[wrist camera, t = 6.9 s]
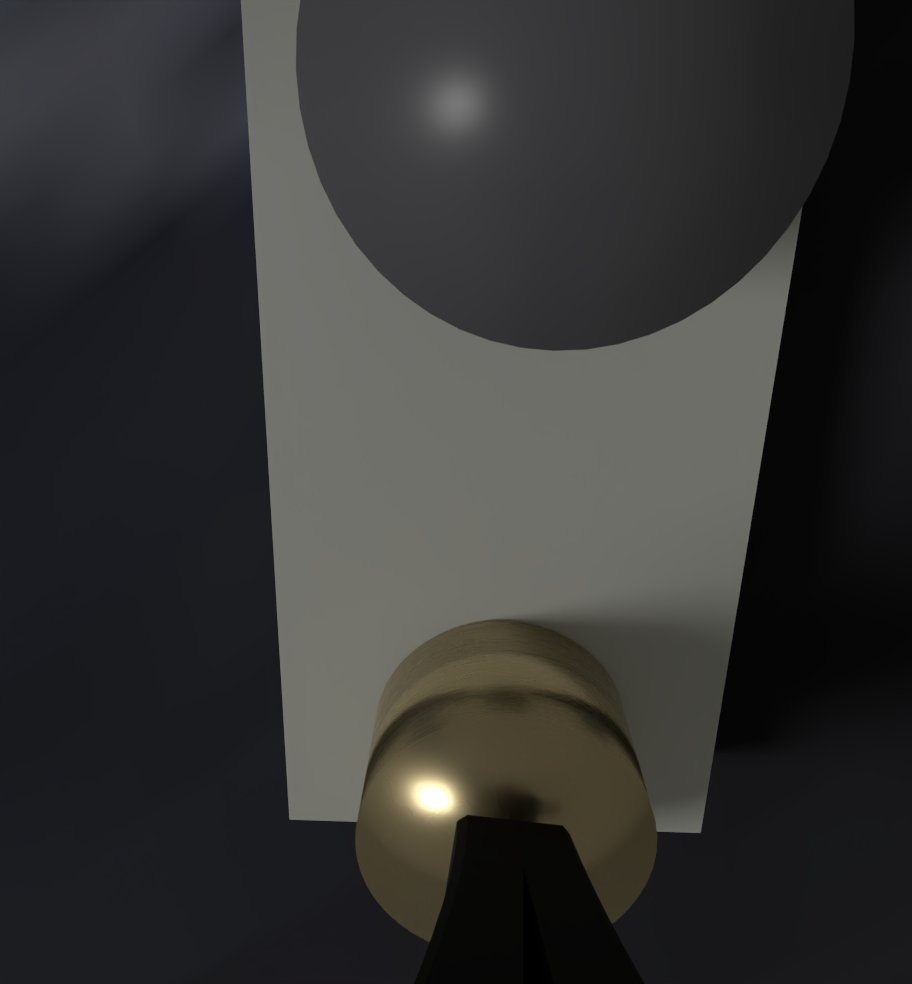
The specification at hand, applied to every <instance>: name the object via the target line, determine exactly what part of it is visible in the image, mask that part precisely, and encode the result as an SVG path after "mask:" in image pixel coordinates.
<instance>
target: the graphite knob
mask: <svg viewBox="0 0 912 984" xmlns="http://www.w3.org/2000/svg"><path fill="white" fill-rule="evenodd" d="M853 48H854V0H300V7H299V14H298V21H297V34H296V75H297V85H298V96H299V106H300V112H301V116H302V121H303V125H304V130H305V135H306V139H307V144H308V148H309V150H310V153H311V156H312V159H313V162H314V165H315V168H316V171H317V174H318V176H319V179H320V182H321V184H322V186H323V188H324V190H325V192H326V194H327V196H328V199H329V201H330V203H331V205H332V207H333V209H334V211H335V213H336V215H337V216H338V218H339V220H340V221H341V223H342V224H343V226H344V227H345V229H346V230H347V232H348V233H349V235H350V237H351V238H352V240H353V241H354V243H355V244H356V246H357V247H358V248H359V249H360V250H361V252H362V253H363V254H364V255H365V256H366V257H367V259H368V260H369V261H370V262H371V263H372V265H373V266H374V267H375V268H376V269H377V271H378V272H379V273H380V274H381V275H383V276H384V277H385V278H386V279H387V280H388V281H389V282H390V283H391V284H392V285H393V286H394V287H396V288H397V289H398V290H399V291H400V292H401V293H402V294H403V295H405V296H406V297H407V298H409V299H410V300H412V301H413V302H414V303H416V304H417V305H419V306H420V307H421V308H423V309H424V310H426V311H427V312H428V313H430V314H432V315H433V316H435V317H437V318H439V319H441V320H443V321H445V322H447V323H449V324H450V325H452V326H454V327H456V328H458V329H460V330H463V331H465V332H468V333H471V334H473V335H476V336H479V337H482V338H484V339H487V340H490V341H494V342H498V343H502V344H507V345H511V346H516V347H520V348H528V349H539V350H550V351H563V350H587V349H593V348H599V347H605V346H611V345H617V344H621V343H624V342H628V341H631V340H634V339H638V338H641V337H644V336H647V335H651V334H653V333H655V332H657V331H660V330H662V329H664V328H667V327H669V326H671V325H673V324H676V323H678V322H680V321H682V320H684V319H686V318H687V317H689V316H691V315H692V314H694V313H696V312H697V311H699V310H701V309H702V308H704V307H706V306H707V305H709V304H711V303H712V302H713V301H715V300H716V299H717V298H719V297H720V296H721V295H722V294H724V293H725V292H726V291H728V290H729V289H730V288H732V287H733V286H734V285H735V284H737V283H738V282H739V281H740V280H741V279H742V278H743V277H744V276H746V275H747V274H748V273H749V272H750V271H751V270H752V269H753V268H754V267H755V266H756V265H757V264H758V263H759V262H760V261H761V260H762V259H763V258H764V257H765V256H766V255H767V254H768V252H769V251H770V250H771V249H772V247H773V246H774V245H775V244H776V242H777V241H778V240H779V239H780V238H781V236H782V235H783V234H784V233H785V231H786V230H787V229H788V228H789V226H790V225H791V223H792V222H793V220H794V219H795V217H796V215H797V214H798V212H799V211H800V209H801V208H802V206H803V204H804V203H805V201H806V200H807V198H808V197H809V195H810V193H811V191H812V189H813V187H814V185H815V183H816V181H817V179H818V177H819V175H820V173H821V171H822V169H823V167H824V165H825V162H826V160H827V158H828V155H829V152H830V150H831V147H832V144H833V141H834V138H835V136H836V133H837V130H838V127H839V124H840V121H841V117H842V113H843V109H844V104H845V100H846V96H847V91H848V87H849V83H850V75H851V66H852V57H853Z"/></svg>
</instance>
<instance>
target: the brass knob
mask: <svg viewBox="0 0 912 984" xmlns="http://www.w3.org/2000/svg"><path fill="white" fill-rule="evenodd" d="M466 815H474V816H483V817H492V818H501V819H510V820H519V821H528V822H537V823H546V824H555V825H563V826H564V827H565V829H566V830H567V831H568V832H569V834H570V835H571V838H572V840H573V843H574V845H575V847H576V850H577V852H578V854H579V857H580V859H581V861H582V863H583V866H584V868H585V870H586V872H587V874H588V876H589V879H590V881H591V883H592V885H593V887H594V889H595V891H596V893H597V895H598V897H599V899H600V901H601V903H602V905H603V907H604V909H605V911H606V913H607V915H608V917H609V919H610V921H611V923H614V922H615V921H616V920H617V919H619V918H620V917H621V916H622V915H623V914H624V913H625V912H626V911H627V910H628V909H629V908H630V907H631V905H632V904H633V903H634V902H635V900H636V899H637V898H638V897H639V895H640V893H641V892H642V890H643V888H644V887H645V885H646V883H647V881H648V879H649V876H650V874H651V871H652V869H653V865H654V861H655V856H656V851H657V830H656V821H655V817H654V814H653V810H652V807H651V804H650V800H649V797H648V793H647V790H646V786H645V783H644V779H643V776H642V772H641V769H640V765H639V762H638V758H637V755H636V751H635V748H634V744H633V741H632V737H631V734H630V730H629V727H628V723H627V720H626V716H625V713H624V709H623V706H622V702H621V699H620V695H619V692H618V690H617V688H616V686H615V684H614V682H613V680H612V678H611V677H610V675H609V674H608V672H607V671H606V669H605V668H604V667H603V666H602V664H601V663H600V662H599V661H598V660H597V659H596V658H595V657H594V656H593V655H592V654H591V653H590V652H588V651H587V650H586V649H585V648H584V647H582V646H581V645H579V644H578V643H576V642H575V641H573V640H572V639H570V638H568V637H566V636H564V635H562V634H560V633H558V632H555V631H553V630H550V629H547V628H544V627H541V626H537V625H532V624H527V623H523V622H512V621H487V622H481V623H474V624H469V625H465V626H461V627H457V628H454V629H452V630H449V631H447V632H444V633H442V634H439V635H437V636H435V637H434V638H432V639H430V640H428V641H426V642H425V643H423V644H422V645H421V646H419V647H418V648H416V649H415V650H414V651H412V652H411V653H410V654H409V655H408V656H407V657H406V658H405V659H404V660H403V661H402V662H401V663H400V664H399V666H398V667H397V668H396V669H395V671H394V672H393V673H392V675H391V676H390V678H389V680H388V682H387V683H386V685H385V687H384V690H383V692H382V695H381V697H380V700H379V705H378V709H377V714H376V719H375V725H374V730H373V736H372V741H371V747H370V753H369V758H368V764H367V769H366V775H365V780H364V786H363V792H362V797H361V803H360V808H359V814H358V819H357V825H356V838H355V845H356V854H357V860H358V864H359V867H360V871H361V874H362V876H363V878H364V880H365V883H366V885H367V887H368V888H369V890H370V892H371V893H372V895H373V896H374V898H375V899H376V901H377V902H378V903H379V904H380V905H381V906H382V908H383V909H384V910H385V911H386V912H387V913H388V914H389V915H390V916H391V917H392V918H393V919H395V920H396V921H397V922H398V923H399V924H400V925H402V926H403V927H405V928H406V929H408V930H409V931H411V932H412V933H413V934H415V935H417V936H419V937H421V938H423V939H425V940H427V941H428V942H430V940H431V937H432V934H433V931H434V928H435V925H436V922H437V919H438V916H439V913H440V910H441V907H442V904H443V901H444V897H445V892H446V886H447V879H448V873H449V867H450V861H451V854H452V848H453V842H454V836H455V830H456V823H457V821H458V820H459V819H461V818H463V817H464V816H466Z"/></svg>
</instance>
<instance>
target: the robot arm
mask: <svg viewBox="0 0 912 984" xmlns="http://www.w3.org/2000/svg"><path fill="white" fill-rule="evenodd" d="M414 984H644V982H643V981H642V979H641V977H640V975H639V973H638V972H637V970H636V968H635V966H634V964H633V963H632V961H631V959H630V957H629V955H628V954H627V952H626V950H625V948H624V946H623V944H622V943H621V941H620V939H619V937H618V935H617V933H616V931H615V929H614V927H613V925H612V923H611V921H610V919H609V917H608V915H607V913H606V911H605V909H604V907H603V905H602V903H601V901H600V899H599V897H598V895H597V893H596V891H595V889H594V887H593V885H592V883H591V881H590V879H589V876H588V874H587V872H586V870H585V868H584V866H583V863H582V861H581V859H580V857H579V854H578V852H577V850H576V847H575V845H574V843H573V840H572V838H571V835H570V834H569V832H568V831H567V830H566V829H565V827H564V826H563V825H555V824H546V823H537V822H528V821H519V820H510V819H501V818H492V817H483V816H474V815H466V816H464V817H463V818H461V819H459V820H458V821H457V823H456V830H455V836H454V842H453V848H452V854H451V861H450V867H449V873H448V879H447V886H446V892H445V897H444V901H443V904H442V907H441V910H440V913H439V916H438V919H437V922H436V925H435V928H434V931H433V934H432V937H431V940H430V943H429V946H428V949H427V952H426V955H425V957H424V960H423V963H422V965H421V968H420V970H419V973H418V975H417V978H416V980H415V982H414Z"/></svg>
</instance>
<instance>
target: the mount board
mask: <svg viewBox="0 0 912 984" xmlns="http://www.w3.org/2000/svg"><path fill="white" fill-rule="evenodd" d="M299 7H300V0H241V11H242V28H243V45H244V62H245V79H246V95H247V112H248V129H249V146H250V163H251V180H252V196H253V213H254V230H255V247H256V264H257V281H258V297H259V314H260V331H261V348H262V365H263V382H264V398H265V415H266V432H267V449H268V466H269V482H270V499H271V516H272V533H273V550H274V567H275V583H276V600H277V617H278V634H279V651H280V668H281V684H282V701H283V718H284V735H285V752H286V769H287V785H288V802H289V819H290V820H319V821H350V822H357V819H358V814H359V808H360V803H361V797H362V792H363V786H364V780H365V775H366V769H367V764H368V758H369V753H370V747H371V741H372V736H373V730H374V725H375V719H376V714H377V709H378V705H379V700H380V697H381V695H382V692H383V690H384V687H385V685H386V683H387V682H388V680H389V678H390V676H391V675H392V673H393V672H394V671H395V669H396V668H397V667H398V666H399V664H400V663H401V662H402V661H403V660H404V659H405V658H406V657H407V656H408V655H409V654H410V653H411V652H412V651H414V650H415V649H416V648H418V647H419V646H421V645H422V644H423V643H425V642H426V641H428V640H430V639H432V638H434V637H435V636H437V635H439V634H442V633H444V632H447V631H449V630H452V629H454V628H457V627H461V626H465V625H469V624H474V623H481V622H487V621H512V622H523V623H527V624H532V625H537V626H541V627H544V628H547V629H550V630H553V631H555V632H558V633H560V634H562V635H564V636H566V637H568V638H570V639H572V640H573V641H575V642H576V643H578V644H579V645H581V646H582V647H584V648H585V649H586V650H587V651H588V652H590V653H591V654H592V655H593V656H594V657H595V658H596V659H597V660H598V661H599V662H600V663H601V664H602V666H603V667H604V668H605V669H606V671H607V672H608V674H609V675H610V677H611V678H612V680H613V682H614V684H615V686H616V688H617V690H618V692H619V695H620V699H621V702H622V706H623V709H624V713H625V716H626V720H627V723H628V727H629V730H630V734H631V737H632V741H633V744H634V748H635V751H636V755H637V758H638V762H639V765H640V769H641V772H642V776H643V779H644V783H645V786H646V790H647V793H648V797H649V800H650V804H651V807H652V810H653V814H654V817H655V821H656V830H657V831H660V832H691V833H701V827H702V821H703V815H704V809H705V803H706V796H707V790H708V784H709V778H710V772H711V766H712V759H713V753H714V747H715V741H716V735H717V729H718V723H719V716H720V710H721V704H722V698H723V692H724V686H725V680H726V673H727V667H728V661H729V655H730V649H731V643H732V637H733V630H734V624H735V618H736V612H737V606H738V600H739V593H740V587H741V581H742V575H743V569H744V563H745V557H746V550H747V544H748V538H749V532H750V526H751V520H752V514H753V507H754V501H755V495H756V489H757V483H758V477H759V471H760V464H761V458H762V452H763V446H764V440H765V434H766V427H767V421H768V415H769V409H770V403H771V397H772V391H773V384H774V378H775V372H776V366H777V360H778V354H779V348H780V341H781V335H782V329H783V323H784V317H785V311H786V305H787V298H788V292H789V286H790V280H791V274H792V268H793V261H794V255H795V249H796V243H797V237H798V231H799V225H800V218H801V212H802V208H801V209H800V211H799V212H798V214H797V215H796V217H795V219H794V220H793V222H792V223H791V225H790V226H789V228H788V229H787V230H786V231H785V233H784V234H783V235H782V236H781V238H780V239H779V240H778V241H777V242H776V244H775V245H774V246H773V247H772V249H771V250H770V251H769V252H768V254H767V255H766V256H765V257H764V258H763V259H762V260H761V261H760V262H759V263H758V264H757V265H756V266H755V267H754V268H753V269H752V270H751V271H750V272H749V273H748V274H747V275H746V276H744V277H743V278H742V279H741V280H740V281H739V282H738V283H737V284H735V285H734V286H733V287H732V288H730V289H729V290H728V291H726V292H725V293H724V294H722V295H721V296H720V297H719V298H717V299H716V300H715V301H713V302H712V303H711V304H709V305H707V306H706V307H704V308H702V309H701V310H699V311H697V312H696V313H694V314H692V315H691V316H689V317H687V318H686V319H684V320H682V321H680V322H678V323H676V324H673V325H671V326H669V327H667V328H664V329H662V330H660V331H657V332H655V333H653V334H651V335H647V336H644V337H641V338H638V339H634V340H631V341H628V342H624V343H621V344H617V345H611V346H605V347H599V348H593V349H587V350H563V351H550V350H539V349H528V348H520V347H516V346H511V345H507V344H502V343H498V342H494V341H490V340H487V339H484V338H482V337H479V336H476V335H473V334H471V333H468V332H465V331H463V330H460V329H458V328H456V327H454V326H452V325H450V324H449V323H447V322H445V321H443V320H441V319H439V318H437V317H435V316H433V315H432V314H430V313H428V312H427V311H426V310H424V309H423V308H421V307H420V306H419V305H417V304H416V303H414V302H413V301H412V300H410V299H409V298H407V297H406V296H405V295H403V294H402V293H401V292H400V291H399V290H398V289H397V288H396V287H394V286H393V285H392V284H391V283H390V282H389V281H388V280H387V279H386V278H385V277H384V276H383V275H381V274H380V273H379V272H378V271H377V269H376V268H375V267H374V266H373V265H372V263H371V262H370V261H369V260H368V259H367V257H366V256H365V255H364V254H363V253H362V252H361V250H360V249H359V248H358V247H357V246H356V244H355V243H354V241H353V240H352V238H351V237H350V235H349V233H348V232H347V230H346V229H345V227H344V226H343V224H342V223H341V221H340V220H339V218H338V216H337V215H336V213H335V211H334V209H333V207H332V205H331V203H330V201H329V199H328V196H327V194H326V192H325V190H324V188H323V186H322V184H321V182H320V179H319V176H318V174H317V171H316V168H315V165H314V162H313V159H312V156H311V153H310V150H309V148H308V144H307V139H306V135H305V130H304V125H303V121H302V116H301V112H300V106H299V96H298V85H297V75H296V34H297V21H298V14H299Z"/></svg>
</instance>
